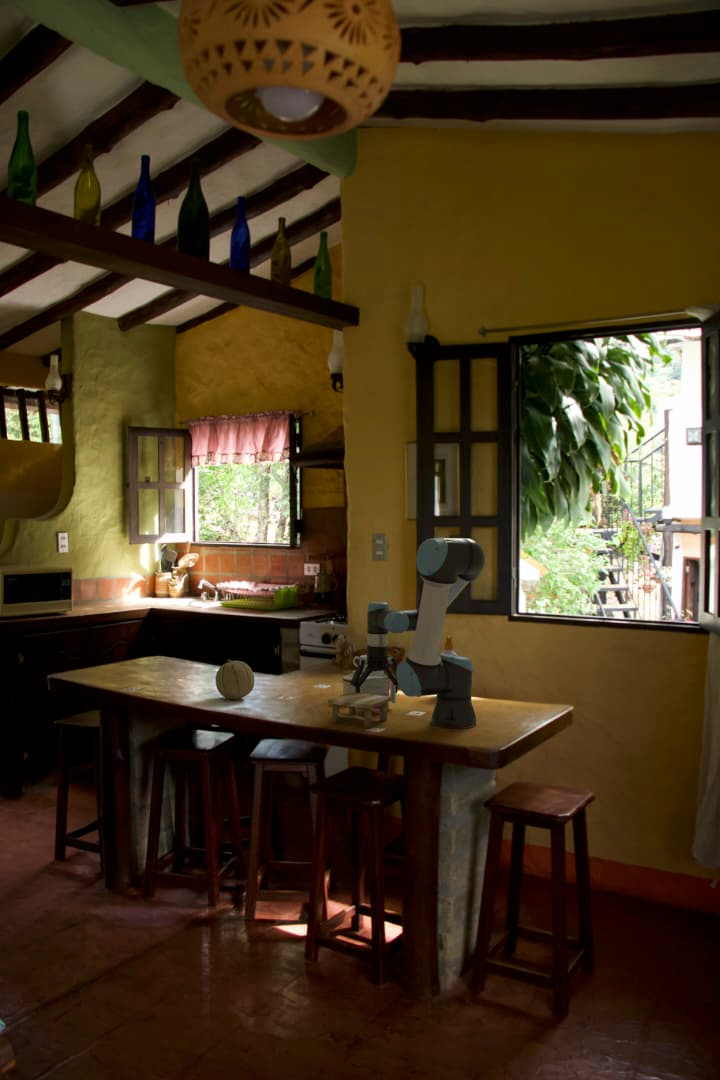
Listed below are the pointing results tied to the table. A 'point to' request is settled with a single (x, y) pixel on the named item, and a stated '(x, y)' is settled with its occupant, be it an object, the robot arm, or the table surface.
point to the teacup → (364, 657)
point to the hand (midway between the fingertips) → (376, 703)
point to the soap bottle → (449, 647)
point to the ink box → (377, 687)
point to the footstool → (359, 706)
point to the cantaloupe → (234, 680)
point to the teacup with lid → (347, 686)
